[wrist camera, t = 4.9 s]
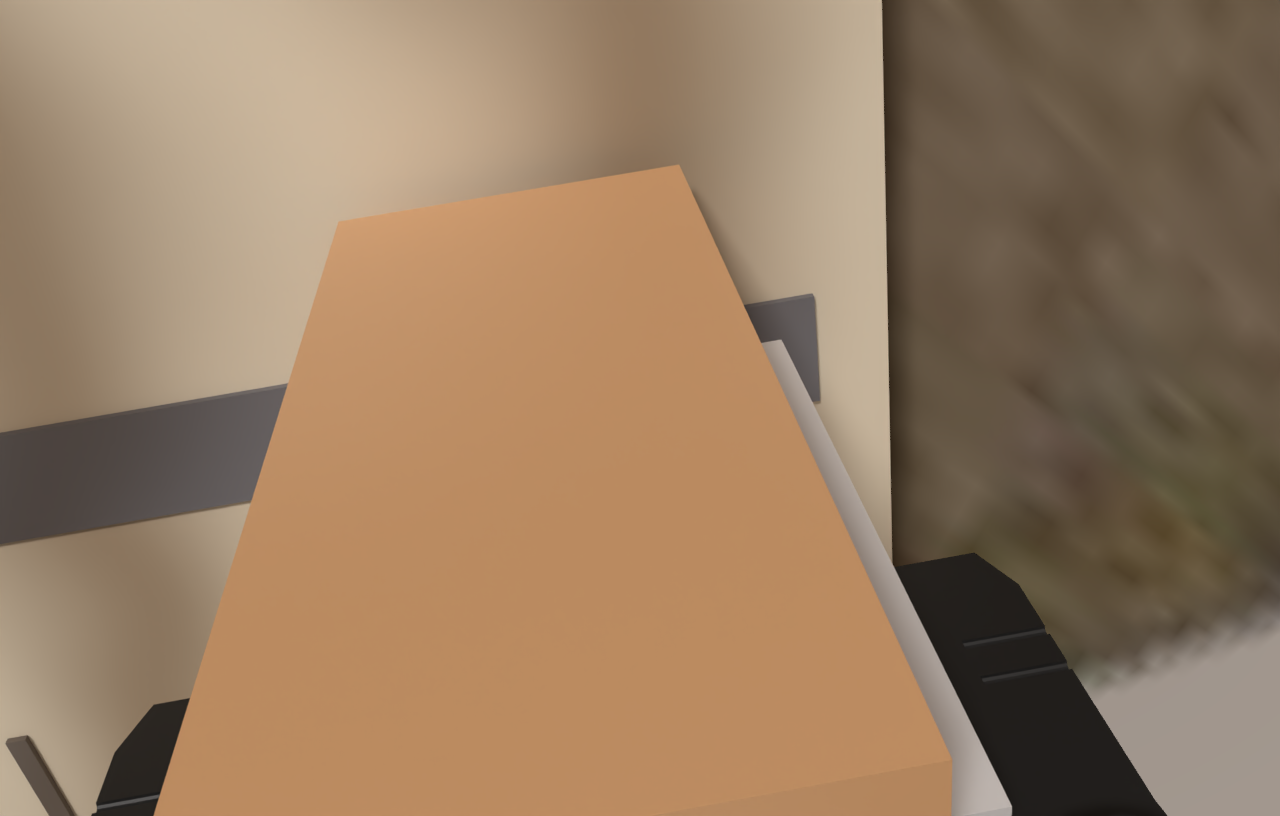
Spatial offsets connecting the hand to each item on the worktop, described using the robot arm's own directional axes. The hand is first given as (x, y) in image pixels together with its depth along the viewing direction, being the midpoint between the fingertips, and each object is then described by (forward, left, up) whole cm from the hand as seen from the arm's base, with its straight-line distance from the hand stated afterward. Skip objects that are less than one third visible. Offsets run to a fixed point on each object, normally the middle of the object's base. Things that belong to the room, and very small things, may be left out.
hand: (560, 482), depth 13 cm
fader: (0, 0, -2) cm, 2 cm away
